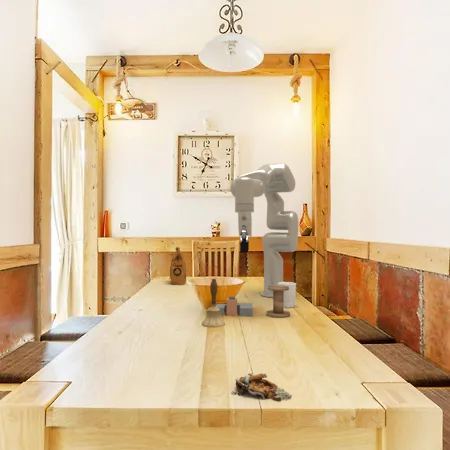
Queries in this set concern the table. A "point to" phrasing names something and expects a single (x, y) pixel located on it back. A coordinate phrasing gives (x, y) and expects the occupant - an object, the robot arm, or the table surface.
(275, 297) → the bobbin
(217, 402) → the table surface
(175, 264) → the coffee package
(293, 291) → the white cup
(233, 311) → the copper brown square peg
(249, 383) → the brown irregular lump
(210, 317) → the hand bell
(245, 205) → the robot arm
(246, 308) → the notch board
